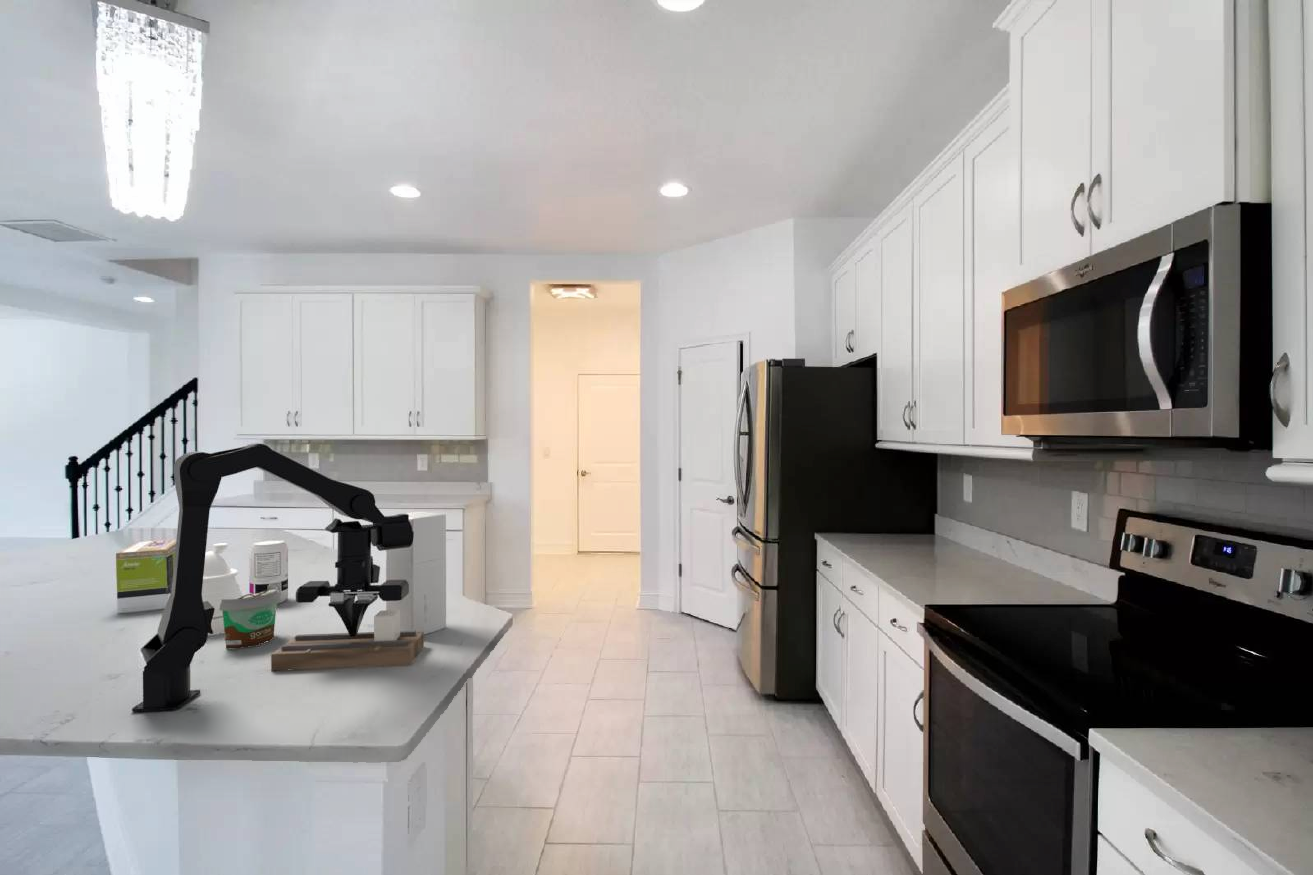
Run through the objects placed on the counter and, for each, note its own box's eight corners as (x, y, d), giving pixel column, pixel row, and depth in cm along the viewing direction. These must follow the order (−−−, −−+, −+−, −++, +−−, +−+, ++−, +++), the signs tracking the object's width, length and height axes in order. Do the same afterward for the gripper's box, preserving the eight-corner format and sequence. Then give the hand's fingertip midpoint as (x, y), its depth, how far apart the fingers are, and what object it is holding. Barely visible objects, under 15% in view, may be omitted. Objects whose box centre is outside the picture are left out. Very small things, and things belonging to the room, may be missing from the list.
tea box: (136, 598, 161) (136, 540, 160) (184, 594, 165) (184, 538, 165) (115, 614, 147) (115, 551, 147) (168, 609, 151) (168, 547, 151)
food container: (246, 653, 122) (245, 601, 121) (219, 651, 123) (219, 600, 123) (294, 633, 134) (294, 586, 134) (270, 631, 135) (269, 584, 135)
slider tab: (394, 642, 118) (394, 616, 118) (374, 643, 118) (374, 616, 118) (400, 635, 122) (400, 610, 122) (380, 636, 122) (380, 610, 122)
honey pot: (234, 615, 146) (233, 538, 146) (254, 626, 138) (253, 544, 138) (165, 628, 136) (165, 546, 136) (183, 641, 128) (182, 553, 128)
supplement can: (241, 605, 155) (241, 544, 154) (270, 596, 163) (270, 538, 162) (267, 608, 152) (266, 546, 152) (295, 599, 160) (295, 540, 160)
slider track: (410, 665, 116) (410, 644, 116) (271, 671, 113) (271, 650, 113) (423, 646, 126) (423, 627, 126) (295, 651, 123) (295, 632, 123)
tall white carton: (412, 639, 130) (412, 518, 130) (385, 632, 135) (385, 515, 134) (446, 627, 138) (446, 513, 137) (420, 621, 142) (419, 511, 142)
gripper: (416, 545, 128) (415, 622, 128) (319, 546, 126) (318, 624, 126) (401, 556, 117) (400, 640, 117) (294, 557, 115) (293, 643, 115)
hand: (353, 636), depth 119 cm, fingers closed
